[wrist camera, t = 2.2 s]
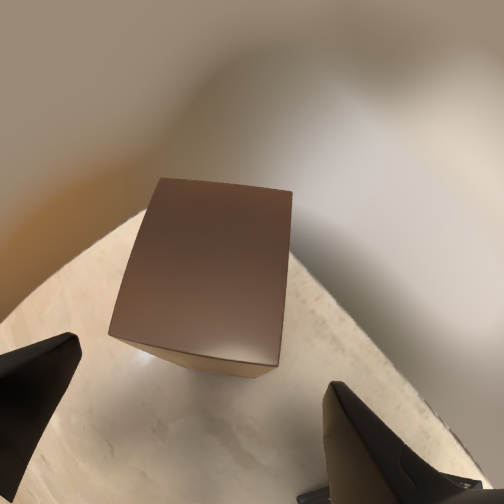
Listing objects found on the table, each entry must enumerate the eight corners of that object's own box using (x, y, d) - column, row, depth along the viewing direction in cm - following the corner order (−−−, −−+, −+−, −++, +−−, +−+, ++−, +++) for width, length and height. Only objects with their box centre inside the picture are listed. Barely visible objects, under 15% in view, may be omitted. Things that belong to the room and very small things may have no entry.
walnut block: (254, 378, 18) (278, 367, 7) (183, 366, 18) (107, 334, 7) (264, 297, 20) (292, 190, 10) (198, 288, 20) (159, 176, 10)
